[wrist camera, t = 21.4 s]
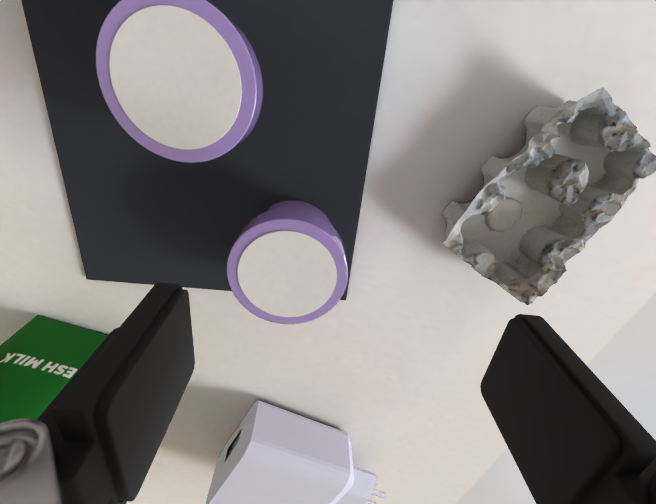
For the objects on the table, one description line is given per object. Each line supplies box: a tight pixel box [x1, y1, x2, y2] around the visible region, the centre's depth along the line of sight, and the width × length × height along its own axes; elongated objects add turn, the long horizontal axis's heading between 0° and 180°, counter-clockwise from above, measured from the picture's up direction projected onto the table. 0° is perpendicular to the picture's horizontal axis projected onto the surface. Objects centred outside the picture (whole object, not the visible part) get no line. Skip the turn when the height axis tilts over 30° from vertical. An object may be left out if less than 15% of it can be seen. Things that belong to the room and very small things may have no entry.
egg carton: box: [443, 88, 656, 305], centre depth 19 cm, size 11×8×4 cm
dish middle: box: [96, 0, 263, 163], centre depth 16 cm, size 6×6×5 cm
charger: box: [206, 400, 386, 504], centre depth 30 cm, size 5×9×15 cm
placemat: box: [22, 0, 393, 300], centre depth 18 cm, size 26×18×1 cm
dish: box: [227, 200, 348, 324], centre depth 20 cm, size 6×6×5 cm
